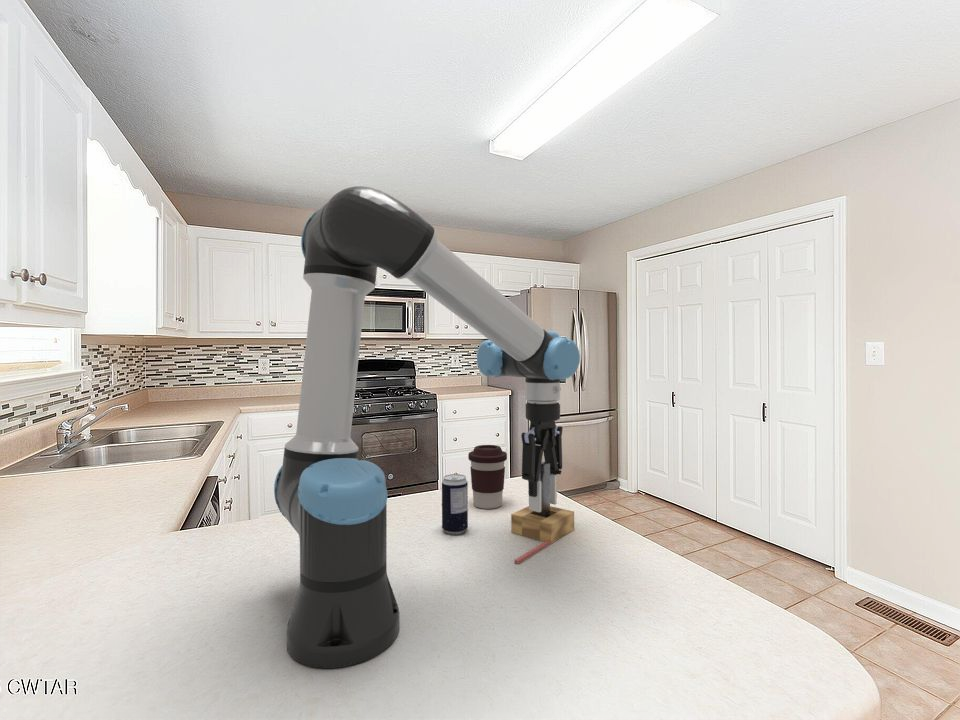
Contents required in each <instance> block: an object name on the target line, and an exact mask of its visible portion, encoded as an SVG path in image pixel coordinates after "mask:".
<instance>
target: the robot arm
mask: <svg viewBox="0 0 960 720" xmlns="http://www.w3.org/2000/svg"><path fill="white" fill-rule="evenodd" d="M300 246H301V252H302V255H303V258H304V266H303V276H302V279H303V280H304V281H305V283H306V284H307V285H308V286H309V287H310V290H311V295H310V304H309V312H308V313H309V314H308V321H307V329H306V330H307V331H306V338H305V339H306V341H305V349H304V357H303V358H304V359H303V365H302V366H303V368H302V375H301V376H302V377H301V386H300V396H299V402H298V403H299V405H298V413H297V424H296V425H297V426H296V434H294V436H293V437H292V438H290V440H289V441H287V442H286V443H285V444H284V449H283V450H284V451H283V458H282V465H281V466H280V468H279V470H278V472H277V474H276V476H275V478H274V485H273V494H274V501H275V504H276V505H277V508H278V510H279V512H280V513H281V515H282V516H283V517H284V518H285V519H286V521H288V523H289V524H290V525H291V527H292V528H293V529H294V531H296V533H297V534H298V536H299V537H298V538H299V575H300V576H299V587H298V591H297V593H296V596H295V601H294V603H293V608H292V611H291V615H290V618H289V620H288V622H287V626H286V627H287V628H286V648H287V653H289V655H290V656H291V657H292V658H293V660H295V661H297V662H298V663H301V664H303V665H306V666H309V667H314V668H322V669H323V668H324V669H325V668H326V669H328V668H329V669H332V668H343V667H347V666H353V665H356V664H360V663H362V662H365V661H368V660H370V659H372V658H374V657H376V656H378V655H380V654H381V653H382V652H384V651H385V650H386V649H387V648H389V647H390V646H391V645H392V644H393V643H394V642H395V640H396V639H397V637H398V634H399V632H400V609H399V605H398V603H397V599H396V596H395V593H394V591H393V587H392V585H391V583H390V579H389V577H388V576H389V575H388V572H387V557H388V556H387V543H388V542H387V530H388V529H387V525H388V523H387V520H388V518H387V509H388V508H387V506H388V505H387V502H388V490H387V486H386V485H387V484H386V475H385V473H384V471H383V470H382V469H381V467H379V466H378V465H377V464H375V463H373V462H372V461H368V460H364V459H362V460H361V459H359V446H358V445H357V444H356V443H355V442H354V441H353V439H352V437H351V434H352V424H353V415H354V406H355V405H354V404H355V396H356V388H357V387H356V386H357V376H358V367H359V366H358V365H359V358H360V348H361V336H362V327H363V319H364V318H363V317H364V310H365V309H364V308H365V300H366V297H367V295H368V294H370V293H371V292H373V290H375V288H376V281H377V273H378V268H379V269H382V270H383V271H385V272H387V273H388V274H390V275H391V276H393V277H394V278H395V279H396V280H403V279H408V280H409V281H410V282H411V283H412V284H414V285H416V286H417V287H418V288H419V289H421V290H422V291H424V292H425V293H426V294H427V295H429V296H430V297H431V298H433V299H434V300H436V301H437V302H439V304H441V305H442V306H444V307H445V308H446V309H448V311H450V312H452V314H454V315H455V316H457V318H459V319H461V320H462V321H463V322H465V323H466V324H467V325H469V327H472V328H473V329H474V330H475V331H477V332H478V333H479V334H481V335H482V336H483V337H484V338H486V340H484V341H482V342H481V343H480V344H479V346H478V348H477V352H476V364H477V368H478V370H479V372H480V373H481V374H482V375H483V376H486V377H494V378H499V377H514V378H525V379H524V380H525V390H524V391H525V392H524V394H525V395H524V396H525V400H526V401H527V402H526V403H525V419H526V420H527V421H529V422H530V423H529V428H528V431H526V432H522V433H521V436H520V437H521V443H522V451H521V453H522V455H521V456H522V458H521V479H522V480H525V481H528V484H527V485H528V506H529V510H532V511H536V512H541V481H539V476H540V469H541V462H543V457H544V462H549V463H550V505H555V506H556V505H557V499H558V497H557V496H558V493H557V489H558V488H557V487H558V486H557V476H558V475H561V474H562V469H563V447H562V446H563V444H562V435H563V426H560V425H556V422H557V421H559V420H560V419H561V404H560V402H558V401H560V400H561V391H562V389H561V385H560V384H561V383H560V382H561V380H566V379H569V378H571V377H573V375H575V373H576V372H577V370H578V368H579V365H580V362H581V354H580V349H579V347H578V346H577V344H576V342H575V341H574V340H572V338H571V339H570V338H568V337H563V336H560V334H559V333H558V332H557V331H554V330H545V329H544V328H543V327H542V326H540V325H539V324H538V323H537V322H536V321H535V320H533V319H532V318H531V317H530V316H529V315H527V314H526V313H525V312H524V311H523V310H522V309H520V308H519V307H518V306H517V305H515V303H514V302H512V301H511V300H510V299H508V297H506V296H505V295H504V294H502V293H501V292H500V291H499V290H497V289H496V287H494V286H493V285H492V284H490V283H489V282H488V281H487V280H486V279H485V278H483V276H481V274H479V273H478V272H476V271H475V270H474V269H473V268H471V266H469V265H468V264H467V263H465V262H464V261H463V260H462V259H461V258H460V257H458V255H456V254H455V253H454V252H452V251H451V250H450V249H449V248H448V247H447V246H445V244H444V243H442V242H441V241H439V239H438V238H437V230H436V228H434V226H433V225H431V224H430V223H429V222H428V221H426V220H425V219H424V218H423V217H422V216H420V215H419V214H418V213H417V212H415V211H414V210H413V209H412V208H410V207H409V206H407V205H406V204H404V203H403V202H401V201H400V200H398V199H397V198H395V197H393V196H392V195H390V194H389V193H386V192H383V191H382V190H379V189H376V188H373V187H369V186H357V185H356V186H350V187H347V188H344V189H341V190H340V191H338V192H337V193H336V194H334V195H333V196H332V197H331V198H329V200H328V201H327V202H326V203H325V204H324V205H323V206H321V207H320V208H319V209H318V210H316V211H315V212H314V213H313V214H311V216H310V217H309V219H308V220H307V221H306V222H305V225H304V227H303V230H302V234H301V241H300Z"/></svg>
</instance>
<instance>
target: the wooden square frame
mask: <svg viewBox="0 0 960 720" xmlns="http://www.w3.org/2000/svg"><path fill="white" fill-rule="evenodd" d="M510 522H511V524H510V525H511V527H510V528H511V533H512V534H516V535H518V536H519V535H520V536H522V537H526V538H529V539H533V540H537V541H540V542H542V543H543V542H545V541H547V540H550V541H551V544H550V545H552V544H554V543H555V542H556V541H558V540H559V539H561V538H563V537H565V536H566V535H568V534H569V533H571V532H573V531H574V530H575V511H573V510H569V509H565V508H560V507H557V506H551V505H550V516H549V517H547V518H545V517H541V516H537V512H536V511H532V510H529V505H528V506H526V507H523V508H521V509H520V510H517V511H515V512H513V513H511V516H510Z"/></svg>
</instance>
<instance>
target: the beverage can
mask: <svg viewBox="0 0 960 720" xmlns="http://www.w3.org/2000/svg"><path fill="white" fill-rule="evenodd" d="M468 484H469V482H468V480H467V476H466V475H465V474H460V473H450V474H446V475H444V476H443V479H442V482H441V529H442V530H443V531H444V532H445V533H446V534H448V535H453V536H454V535H461V534H463V533H465V531H466V530H467V529H468V528H469V517H468V516H469V513H468V511H469V507H468V506H469V505H468V504H469V503H468V498H469V496H468V488H469V487H468V486H469V485H468Z"/></svg>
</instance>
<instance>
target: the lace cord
mask: <svg viewBox="0 0 960 720" xmlns="http://www.w3.org/2000/svg"><path fill="white" fill-rule="evenodd" d="M549 545H552V544H551V541H550V540H547V541H545V542H543V541H542V543H540V544H538V545H536V546H535V547H533V548H532V549H530V550H528V551H527V552H525V553H523V554H522V555H520V556H518V557H517V558H515V559H514V564H516V565H519V564H521V563H522V562H524V561H525V560H527V559H529V558H531V557H532V556H534V555H535V554H536V553H538V552H540V551H542V550H543V549H545V548H547V547H548V546H549Z"/></svg>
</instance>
